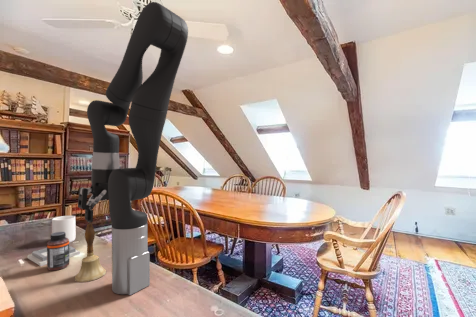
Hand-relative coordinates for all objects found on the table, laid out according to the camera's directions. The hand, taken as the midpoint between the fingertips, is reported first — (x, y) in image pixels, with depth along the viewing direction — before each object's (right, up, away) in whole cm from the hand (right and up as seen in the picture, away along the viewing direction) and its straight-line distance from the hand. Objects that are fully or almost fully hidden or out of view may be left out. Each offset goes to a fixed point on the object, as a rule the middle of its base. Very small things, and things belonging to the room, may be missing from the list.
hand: (104, 218), depth 75 cm
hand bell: (-4, -18, -1) cm, 18 cm away
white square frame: (-26, -17, +14) cm, 34 cm away
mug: (-36, -18, +31) cm, 50 cm away
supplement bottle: (-18, -18, +5) cm, 25 cm away
